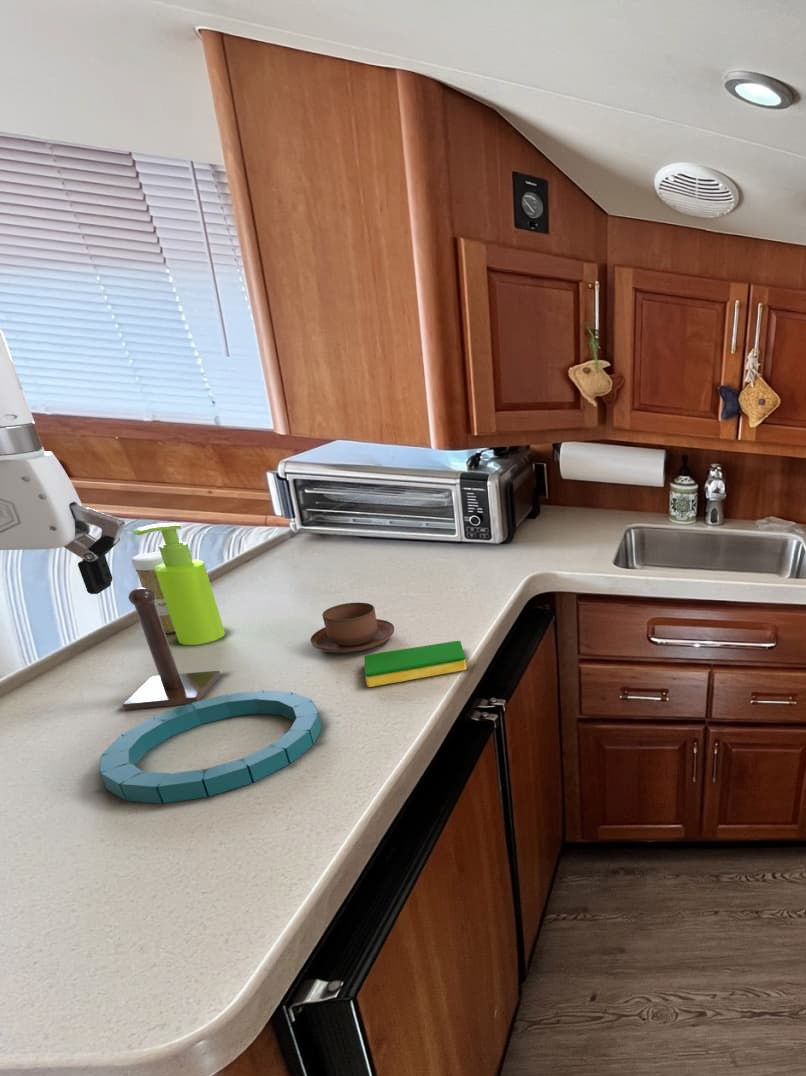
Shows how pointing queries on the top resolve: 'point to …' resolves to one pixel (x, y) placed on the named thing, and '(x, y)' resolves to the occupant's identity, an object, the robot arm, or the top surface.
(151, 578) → the sprinkles bottle
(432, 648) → the dish sponge
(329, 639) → the cup and saucer
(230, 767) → the hoop
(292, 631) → the top surface
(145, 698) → the wooden peg stand
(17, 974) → the top surface
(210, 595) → the soap dispenser
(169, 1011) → the top surface
